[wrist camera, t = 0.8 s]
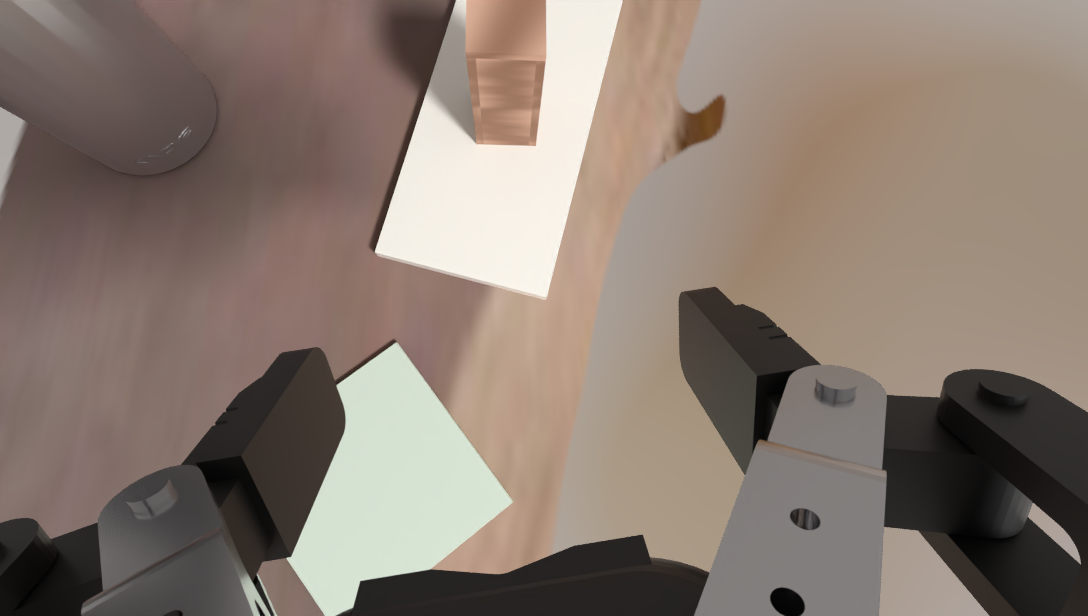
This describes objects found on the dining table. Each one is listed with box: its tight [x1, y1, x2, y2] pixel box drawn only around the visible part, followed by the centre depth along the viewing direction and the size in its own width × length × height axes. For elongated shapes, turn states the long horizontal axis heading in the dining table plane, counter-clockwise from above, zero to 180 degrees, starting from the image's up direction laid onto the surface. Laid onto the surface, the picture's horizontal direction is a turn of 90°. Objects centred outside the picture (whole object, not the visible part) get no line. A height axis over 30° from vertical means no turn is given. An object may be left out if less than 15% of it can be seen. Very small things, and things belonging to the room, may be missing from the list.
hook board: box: [375, 0, 623, 300], centre depth 34 cm, size 24×12×7 cm, turn 166°
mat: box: [287, 342, 513, 616], centre depth 33 cm, size 13×13×1 cm
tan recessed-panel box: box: [465, 0, 546, 146], centre depth 32 cm, size 4×4×10 cm
